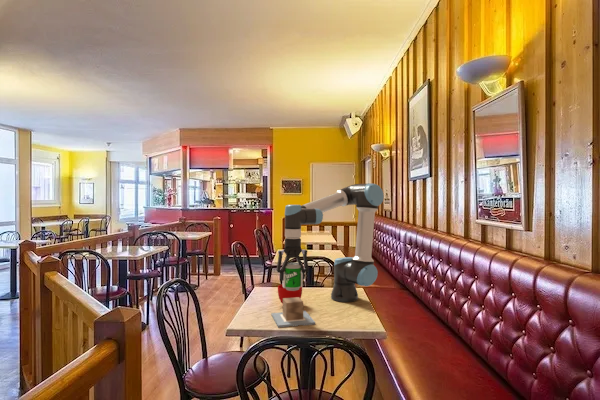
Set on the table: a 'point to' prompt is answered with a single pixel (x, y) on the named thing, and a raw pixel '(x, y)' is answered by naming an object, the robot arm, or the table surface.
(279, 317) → the baseplate
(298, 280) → the soda can
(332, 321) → the table surface
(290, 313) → the walnut block
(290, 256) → the robot arm
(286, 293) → the ceramic cup
